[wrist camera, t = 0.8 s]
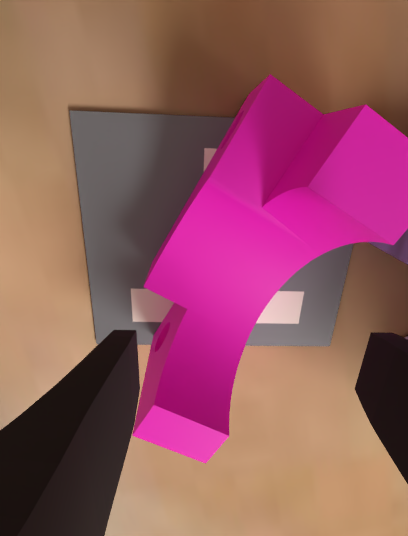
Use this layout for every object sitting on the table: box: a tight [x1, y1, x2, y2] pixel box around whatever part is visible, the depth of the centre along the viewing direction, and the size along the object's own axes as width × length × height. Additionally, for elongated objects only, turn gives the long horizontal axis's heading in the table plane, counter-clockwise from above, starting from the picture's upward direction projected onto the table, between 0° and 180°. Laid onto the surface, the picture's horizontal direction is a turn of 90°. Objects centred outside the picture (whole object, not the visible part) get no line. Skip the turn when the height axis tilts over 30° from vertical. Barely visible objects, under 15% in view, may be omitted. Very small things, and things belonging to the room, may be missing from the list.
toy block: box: [132, 74, 408, 463], centre depth 14 cm, size 15×6×8 cm, turn 149°
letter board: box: [69, 111, 354, 346], centre depth 18 cm, size 16×14×1 cm
